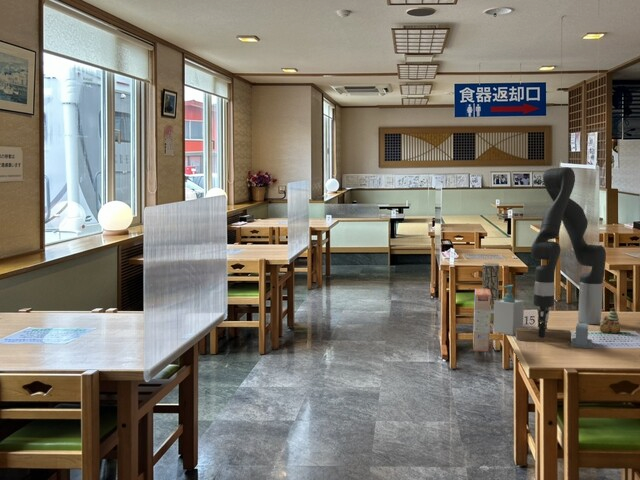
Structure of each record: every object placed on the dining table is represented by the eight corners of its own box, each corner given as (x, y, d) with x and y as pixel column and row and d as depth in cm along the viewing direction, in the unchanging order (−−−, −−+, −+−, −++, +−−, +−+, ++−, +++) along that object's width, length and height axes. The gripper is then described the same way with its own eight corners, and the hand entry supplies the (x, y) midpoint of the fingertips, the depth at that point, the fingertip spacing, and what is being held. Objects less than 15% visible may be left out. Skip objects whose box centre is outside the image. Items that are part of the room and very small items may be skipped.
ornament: (599, 333, 285) (600, 308, 284) (598, 329, 290) (599, 305, 289) (621, 334, 282) (622, 309, 281) (619, 331, 288) (620, 306, 287)
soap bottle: (492, 332, 285) (494, 285, 283) (503, 328, 292) (505, 282, 290) (512, 335, 279) (514, 287, 278) (523, 332, 286) (524, 285, 284)
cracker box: (490, 352, 254) (491, 294, 251) (472, 351, 255) (474, 294, 253) (489, 343, 267) (490, 288, 265) (473, 342, 268) (474, 287, 266)
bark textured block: (497, 323, 302) (499, 264, 299) (481, 322, 303) (483, 264, 301) (497, 319, 309) (498, 262, 306) (481, 319, 310) (482, 262, 307)
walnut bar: (515, 338, 277) (515, 328, 276) (569, 340, 273) (569, 330, 273) (516, 340, 273) (516, 330, 272) (570, 342, 269) (571, 332, 269)
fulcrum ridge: (572, 340, 272) (572, 322, 271) (591, 342, 269) (592, 323, 269) (570, 346, 263) (571, 327, 262) (591, 348, 260) (591, 329, 259)
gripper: (535, 289, 279) (534, 330, 281) (532, 295, 266) (530, 338, 268) (555, 291, 276) (554, 332, 278) (553, 297, 263) (551, 340, 265)
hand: (542, 334), depth 273 cm, fingers open, 8 cm apart
